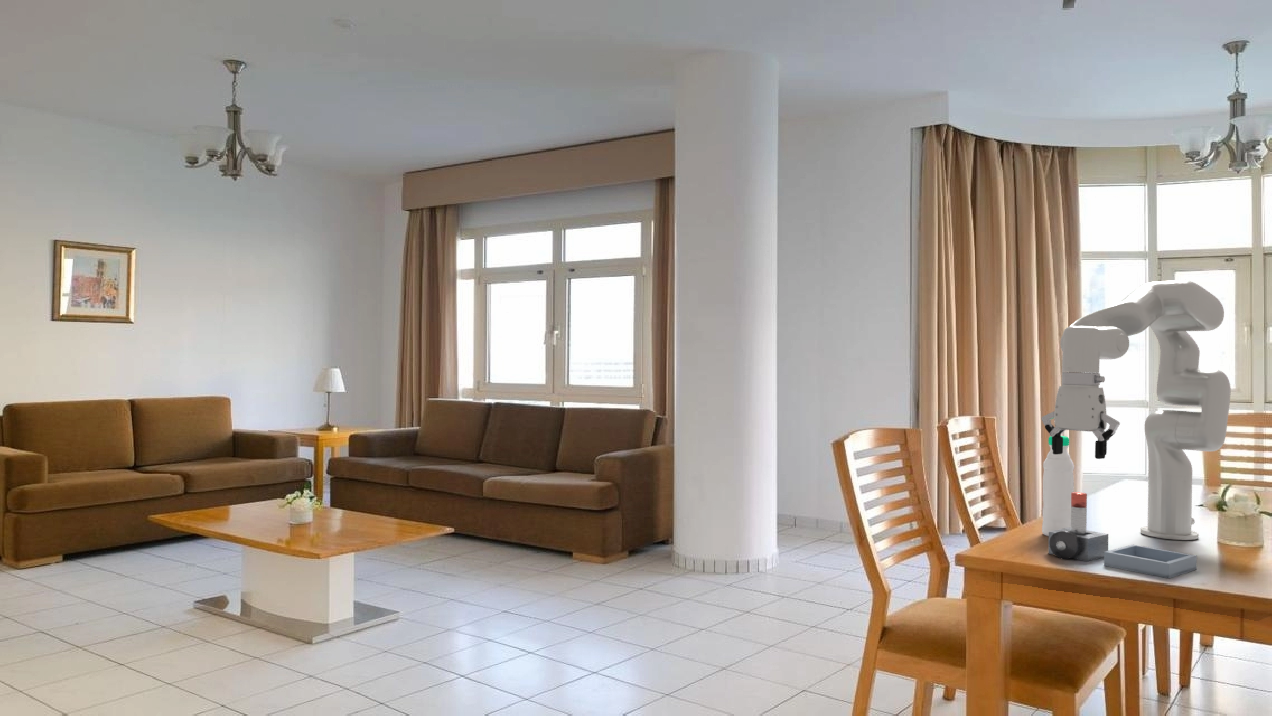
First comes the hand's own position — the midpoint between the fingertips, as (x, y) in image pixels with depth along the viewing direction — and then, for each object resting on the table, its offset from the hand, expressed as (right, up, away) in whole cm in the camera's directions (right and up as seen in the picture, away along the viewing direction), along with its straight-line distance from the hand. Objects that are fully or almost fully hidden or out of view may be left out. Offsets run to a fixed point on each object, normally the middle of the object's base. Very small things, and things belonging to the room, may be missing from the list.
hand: (1078, 456), depth 202 cm
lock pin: (0, -23, 0) cm, 22 cm away
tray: (+10, -23, -11) cm, 27 cm away
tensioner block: (-1, -22, -1) cm, 22 cm away
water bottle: (+6, -23, +22) cm, 32 cm away
